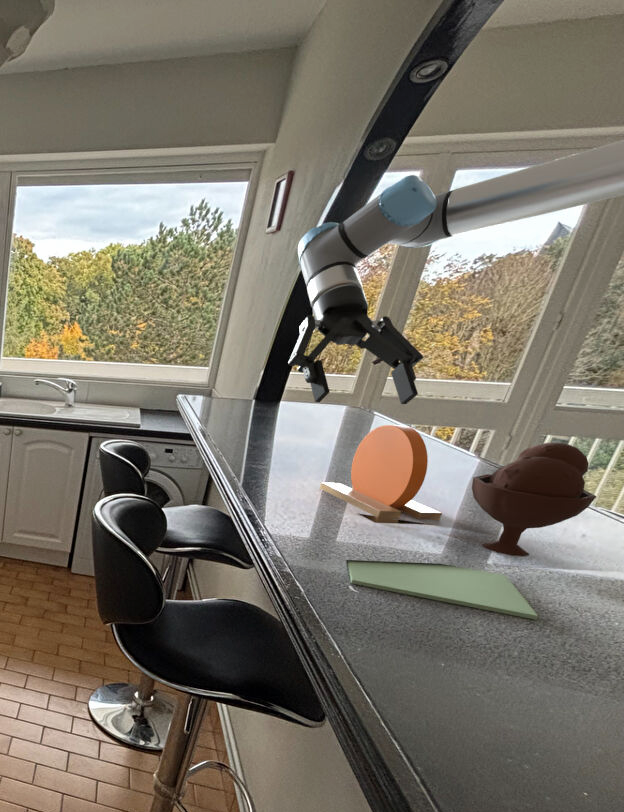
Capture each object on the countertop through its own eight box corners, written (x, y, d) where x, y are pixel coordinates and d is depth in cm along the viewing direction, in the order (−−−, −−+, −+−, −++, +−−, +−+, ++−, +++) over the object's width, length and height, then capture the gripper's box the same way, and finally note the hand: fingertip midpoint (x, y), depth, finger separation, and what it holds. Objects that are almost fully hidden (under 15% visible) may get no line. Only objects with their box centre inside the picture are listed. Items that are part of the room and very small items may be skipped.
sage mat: (503, 578, 71) (505, 574, 71) (536, 620, 62) (538, 616, 61) (343, 550, 79) (344, 546, 79) (351, 583, 69) (352, 579, 69)
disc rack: (370, 498, 100) (375, 484, 99) (437, 529, 87) (443, 513, 86) (315, 496, 101) (320, 482, 100) (373, 527, 87) (378, 510, 86)
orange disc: (354, 495, 99) (378, 418, 95) (409, 521, 87) (440, 435, 83) (342, 494, 100) (365, 417, 95) (395, 521, 88) (425, 434, 83)
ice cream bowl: (451, 533, 85) (491, 430, 80) (562, 555, 78) (614, 444, 72) (443, 553, 78) (486, 441, 73) (563, 579, 71) (622, 458, 65)
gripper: (395, 316, 107) (428, 413, 99) (253, 314, 109) (274, 409, 101) (427, 283, 100) (465, 385, 92) (275, 282, 102) (299, 381, 94)
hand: (365, 398), depth 96 cm, fingers open, 13 cm apart
